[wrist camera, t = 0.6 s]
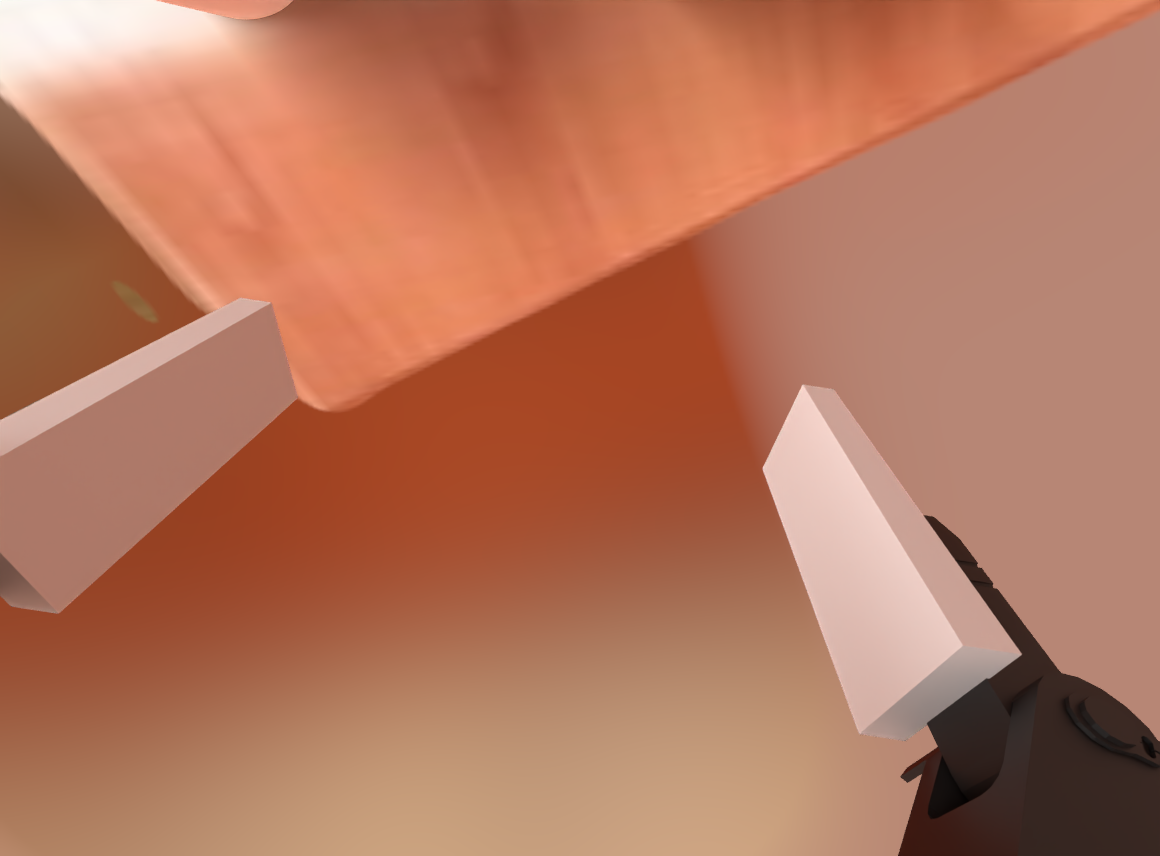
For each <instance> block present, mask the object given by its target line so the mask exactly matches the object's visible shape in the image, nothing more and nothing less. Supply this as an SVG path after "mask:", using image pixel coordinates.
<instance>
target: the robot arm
mask: <svg viewBox="0 0 1160 856" xmlns="http://www.w3.org/2000/svg"><path fill="white" fill-rule="evenodd" d="M297 398H298V396H297V392H296V389H295V385H294V381H293V378H292V374H291V371H290V367H289V363H288V360H287V356H286V353H285V349H284V345H283V342H282V338H281V335H280V331H279V328H278V324H277V320H276V317H275V313H274V310H273V306H272V303H271V302H264V301H258V300H251V299H245V298H239V299H237V300H235V301H233V302H231V303H229V304H227V305H225V306H223V307H221V308H219V309H217V310H215V311H214V312H212V313H210V314H208V315H206V316H204V317H202V318H200V319H198V320H196V321H194V322H192V323H190V324H188V325H186V326H184V327H182V328H180V329H178V330H176V331H174V332H172V333H170V334H169V335H167V336H165V337H163V338H161V339H159V340H157V341H155V342H153V343H151V344H149V345H147V346H145V347H143V348H141V349H139V350H137V351H135V352H133V353H131V354H129V355H127V356H125V357H123V358H121V359H120V360H118V361H116V362H114V363H112V364H110V365H108V366H106V367H104V368H102V369H100V370H98V371H96V372H94V373H92V374H90V375H88V376H86V377H84V378H82V379H80V380H78V381H76V382H74V383H73V384H71V385H68V386H66V387H65V388H63V389H61V390H59V391H57V392H55V393H53V394H51V395H49V396H47V397H45V398H43V399H41V400H38V401H36V402H35V403H32V404H30V405H28V406H26V407H24V408H22V409H20V410H18V411H16V412H14V413H13V414H11V415H9V416H7V417H6V418H4V419H2V420H0V596H1V597H2V598H3V599H4V600H5V601H6V602H7V603H8V604H9V605H11V606H12V607H19V608H25V609H32V610H38V611H45V612H52V613H60V612H61V611H62V610H63V609H64V608H65V607H66V606H67V605H69V604H70V603H71V602H72V601H73V600H74V599H75V598H76V597H77V596H79V595H80V594H81V593H82V592H83V591H84V590H85V589H86V588H87V587H89V586H90V585H91V584H92V583H93V582H94V581H95V580H96V579H97V578H98V577H100V576H101V575H102V574H103V573H104V572H105V571H106V570H107V569H108V568H109V567H111V566H112V565H113V564H114V563H115V562H116V561H117V560H118V559H120V558H121V557H122V556H123V555H124V554H125V553H126V552H127V551H128V550H130V549H131V548H132V547H133V546H134V545H135V544H136V543H137V542H138V541H139V540H141V539H142V538H143V537H144V536H145V535H146V534H147V533H148V532H149V531H151V530H152V529H153V528H154V527H155V526H156V525H157V524H158V523H160V522H161V521H162V520H163V519H164V518H165V517H166V516H167V515H168V514H170V513H171V512H172V511H173V510H174V509H175V508H176V507H177V506H178V505H180V504H181V503H182V502H183V501H184V500H185V499H186V498H187V497H188V496H189V495H190V494H192V493H193V492H194V491H195V490H196V489H197V488H198V487H199V486H201V485H202V484H203V483H204V482H205V481H206V480H207V479H208V478H209V477H211V476H212V475H213V474H214V473H215V472H216V471H217V470H218V469H219V468H220V467H222V466H223V465H224V464H225V463H226V462H227V461H228V460H229V459H231V458H232V457H233V456H234V455H235V454H236V453H237V452H238V451H239V450H240V449H242V448H243V447H244V446H245V445H246V444H247V443H248V442H249V441H250V440H251V439H253V438H254V437H255V436H256V435H257V434H258V433H259V432H260V431H262V429H264V428H265V427H266V426H267V425H268V424H269V423H270V422H272V421H273V420H274V419H275V418H276V417H277V416H278V415H279V414H280V413H282V412H283V411H284V410H285V409H286V408H287V407H288V406H289V405H290V404H291V403H293V402H294V401H295V400H296V399H297ZM763 471H764V474H765V477H766V480H767V483H768V485H769V488H770V491H771V493H772V496H773V499H774V502H775V504H776V507H777V510H778V513H779V515H780V518H781V521H782V524H783V526H784V529H785V532H786V534H787V537H788V540H789V543H790V546H791V548H792V551H793V554H794V557H795V559H796V562H797V565H798V568H799V570H800V573H801V576H802V579H803V581H804V584H805V587H806V590H807V592H808V595H809V598H810V600H811V603H812V606H813V609H814V611H815V614H816V617H817V619H818V622H819V625H820V628H821V631H822V633H823V636H824V639H825V641H826V644H827V647H828V650H829V653H830V655H831V658H832V661H833V664H834V666H835V669H836V672H837V675H838V677H839V680H840V683H841V686H842V688H843V691H844V694H845V697H846V699H847V702H848V705H849V707H850V710H851V713H852V716H853V719H854V721H855V724H856V727H857V730H858V732H859V734H862V735H868V736H875V737H882V738H888V739H895V740H901V741H906V740H908V739H909V738H910V737H912V736H913V735H914V734H916V733H917V732H918V731H920V730H921V729H922V728H924V727H925V726H926V725H928V727H929V729H930V731H931V733H932V735H933V737H934V739H935V741H936V743H937V745H938V747H937V748H936V749H934V750H933V751H931V752H930V753H929V754H927V755H925V756H924V757H922V758H921V759H919V760H918V761H916V762H915V763H913V764H912V765H910V766H909V767H908V768H907V769H906V770H905V771H904V773H903V774H902V775H901V778H902V779H904V780H905V781H906V782H907V783H908V782H909V781H911V780H913V779H914V778H916V777H917V776H919V775H921V774H922V776H921V780H920V783H919V787H918V790H917V794H916V797H915V800H914V804H913V807H912V810H911V814H910V817H909V821H908V824H907V827H906V830H905V834H904V838H903V841H902V844H901V848H900V852H899V854H898V856H1160V741H1158V740H1157V739H1156V737H1154V735H1153V733H1152V732H1151V731H1150V729H1149V728H1148V727H1147V726H1146V725H1144V723H1143V722H1142V721H1141V720H1139V719H1138V718H1137V717H1136V716H1135V715H1134V714H1133V713H1132V712H1131V711H1130V710H1129V709H1128V708H1127V707H1126V706H1124V705H1123V704H1122V703H1120V702H1119V701H1117V700H1116V699H1115V698H1113V697H1112V696H1110V695H1109V694H1108V693H1106V692H1105V691H1103V690H1102V689H1100V688H1098V687H1096V686H1094V685H1092V684H1090V683H1088V682H1086V681H1084V680H1082V679H1080V678H1078V677H1075V676H1070V675H1066V674H1062V673H1061V672H1060V671H1059V670H1058V669H1057V667H1056V666H1055V665H1054V663H1053V662H1052V661H1051V659H1050V658H1049V657H1048V655H1047V654H1046V653H1045V651H1044V650H1043V649H1042V648H1041V646H1040V645H1039V643H1038V642H1037V641H1036V639H1035V638H1034V637H1033V635H1032V634H1031V633H1030V632H1029V630H1028V629H1027V628H1026V626H1025V625H1024V624H1023V622H1022V621H1021V620H1020V618H1019V617H1018V616H1017V614H1016V613H1015V612H1014V610H1013V609H1012V608H1011V606H1010V605H1009V604H1008V602H1007V601H1006V600H1005V599H1004V597H1003V596H1002V594H1001V593H1000V592H999V590H998V589H995V588H993V583H992V581H991V580H990V579H989V577H988V576H987V575H986V573H985V572H984V571H983V569H982V568H978V567H977V564H978V563H977V561H976V560H975V559H974V557H973V556H972V555H971V553H970V552H969V551H968V549H967V548H966V547H965V546H964V544H963V543H962V541H961V540H960V539H959V538H958V537H957V536H956V535H954V534H953V533H952V532H951V531H950V530H948V529H947V528H946V527H945V526H944V525H943V524H941V523H940V522H939V521H938V520H937V519H936V518H934V517H932V516H925V515H923V514H922V513H921V511H920V510H919V509H918V507H917V506H916V504H915V503H914V502H913V500H912V499H911V498H910V496H909V495H908V493H907V492H906V490H905V489H904V488H903V486H902V485H901V483H900V482H899V481H898V479H897V478H896V476H895V475H894V473H893V472H892V471H891V469H890V468H889V466H888V465H887V464H886V462H885V461H884V459H883V458H882V457H881V455H880V454H879V452H878V451H877V450H876V448H875V447H874V445H873V444H872V443H871V441H870V440H869V438H868V437H867V436H866V434H865V433H864V431H863V430H862V428H861V427H860V426H859V424H858V423H857V422H856V420H855V419H854V417H853V416H852V414H851V413H850V412H849V410H848V409H847V408H846V406H845V405H844V403H843V402H842V400H841V399H840V398H839V396H838V395H837V393H836V392H835V390H834V389H829V388H822V387H816V386H809V385H802V387H801V389H800V391H799V394H798V396H797V398H796V400H795V402H794V404H793V406H792V408H791V410H790V412H789V414H788V417H787V419H786V421H785V423H784V425H783V427H782V429H781V431H780V433H779V435H778V437H777V440H776V442H775V444H774V446H773V448H772V450H771V452H770V454H769V456H768V458H767V461H766V463H765V465H764V467H763Z"/></svg>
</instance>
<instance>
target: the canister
mask: <svg viewBox="0 0 1160 856" xmlns="http://www.w3.org/2000/svg"><path fill="white" fill-rule="evenodd" d="M157 1H161V2H165V3H170V4H174V5H178V6H182V7H187V8H191V9H195V10H199V11H204V12H208V13H212V14H216V15H221V16H225V17H229V18H235V19H245V20H250V19H259V18H264V17H267V16H270V15H273V14H275V13H277V12H279V11H281V10H282V9H284V8H285V7H287V6H288V5H289V4H290V3H291V2H292V1H293V0H157Z"/></svg>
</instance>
